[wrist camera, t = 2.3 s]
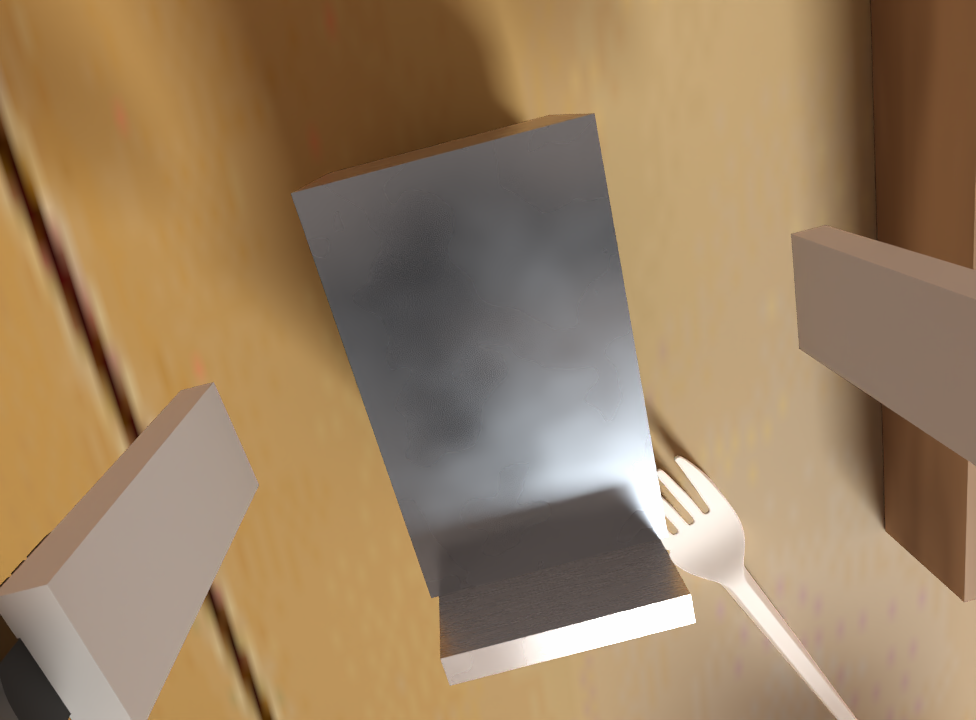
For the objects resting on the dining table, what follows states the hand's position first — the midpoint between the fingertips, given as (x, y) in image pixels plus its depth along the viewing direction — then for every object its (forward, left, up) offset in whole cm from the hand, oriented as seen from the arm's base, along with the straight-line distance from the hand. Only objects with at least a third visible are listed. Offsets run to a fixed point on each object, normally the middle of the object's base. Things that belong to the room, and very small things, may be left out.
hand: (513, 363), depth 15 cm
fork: (+8, -16, -7) cm, 19 cm away
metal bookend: (0, 0, -7) cm, 7 cm away
